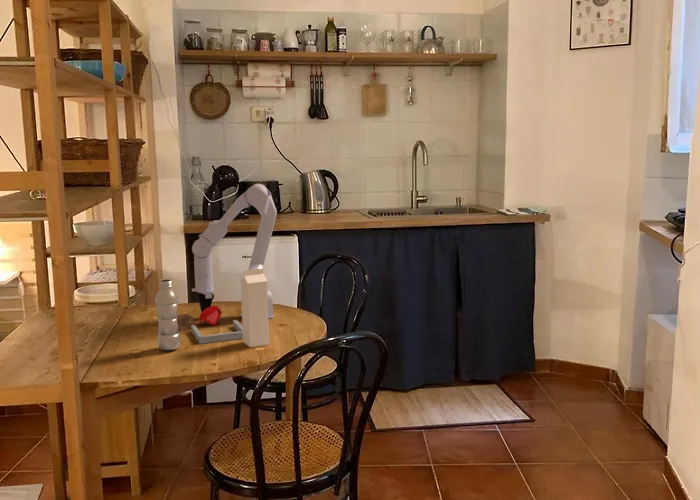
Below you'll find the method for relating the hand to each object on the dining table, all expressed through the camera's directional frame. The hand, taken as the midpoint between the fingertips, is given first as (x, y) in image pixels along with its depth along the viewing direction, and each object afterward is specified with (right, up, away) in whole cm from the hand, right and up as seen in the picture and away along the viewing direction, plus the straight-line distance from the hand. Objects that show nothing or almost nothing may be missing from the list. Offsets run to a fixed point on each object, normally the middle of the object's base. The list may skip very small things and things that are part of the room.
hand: (205, 315), depth 228 cm
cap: (+3, -3, -7) cm, 8 cm away
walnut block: (-4, -3, -11) cm, 12 cm away
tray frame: (+8, -4, -18) cm, 20 cm away
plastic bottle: (-4, -7, -32) cm, 33 cm away
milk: (+20, -6, -28) cm, 35 cm away
